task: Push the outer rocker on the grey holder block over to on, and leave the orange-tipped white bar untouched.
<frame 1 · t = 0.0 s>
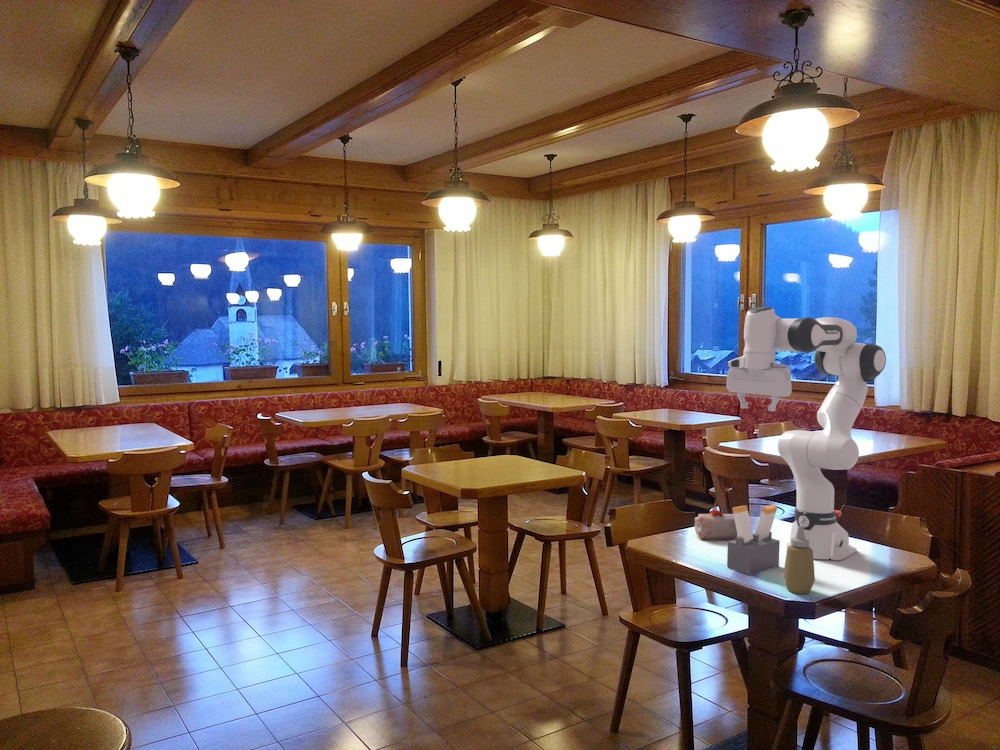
hand: (757, 409, 223), 48 cm above the table, tool pointing down, fingers open, 8 cm apart
food item: (715, 539, 261), on the table
squeeze bottle: (798, 591, 209), on the table
grey holder block: (753, 567, 230), on the table
outer rocker: (742, 523, 228), point 14 cm above the table, hinge at -16.0°
orange-tipped white bar: (765, 521, 230), point 14 cm above the table, hinge at 16.0°
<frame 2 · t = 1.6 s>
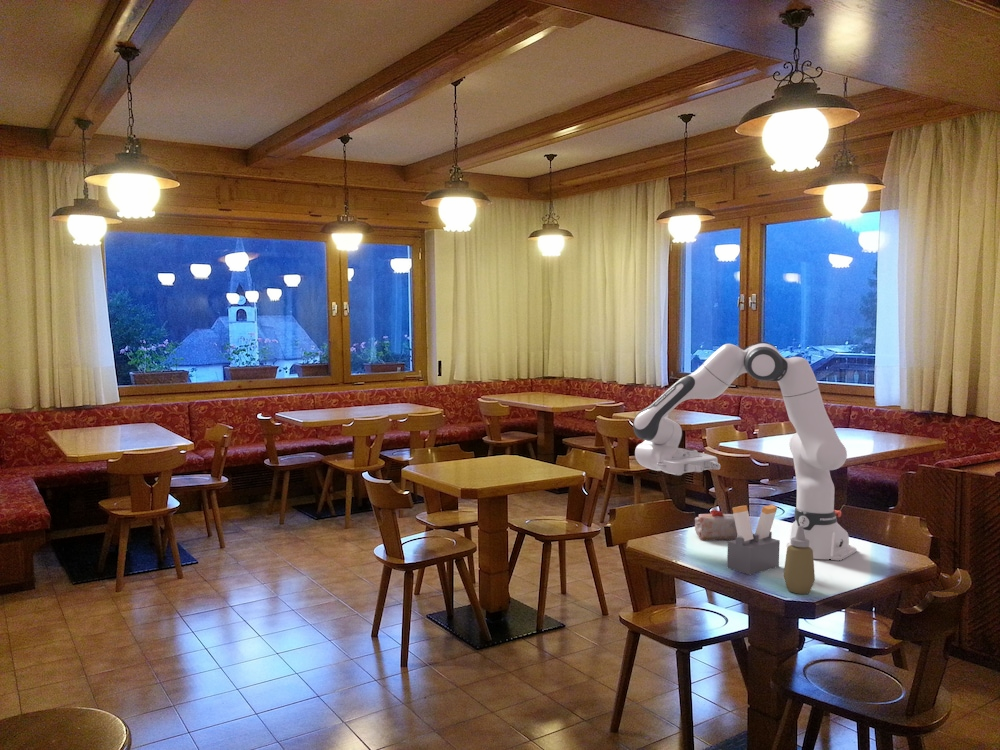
hand: (710, 468, 237), 28 cm above the table, tool horizontal, fingers open, 7 cm apart
nothing on the table moved.
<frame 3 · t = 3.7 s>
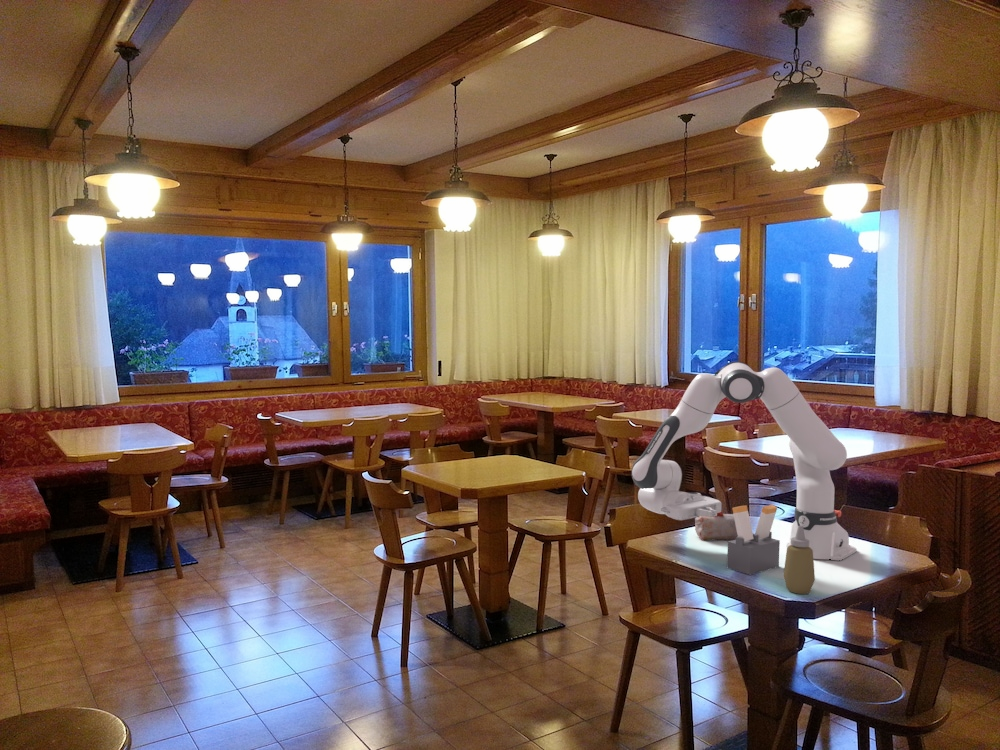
hand: (714, 514, 237), 14 cm above the table, tool horizontal, fingers closed
nothing on the table moved.
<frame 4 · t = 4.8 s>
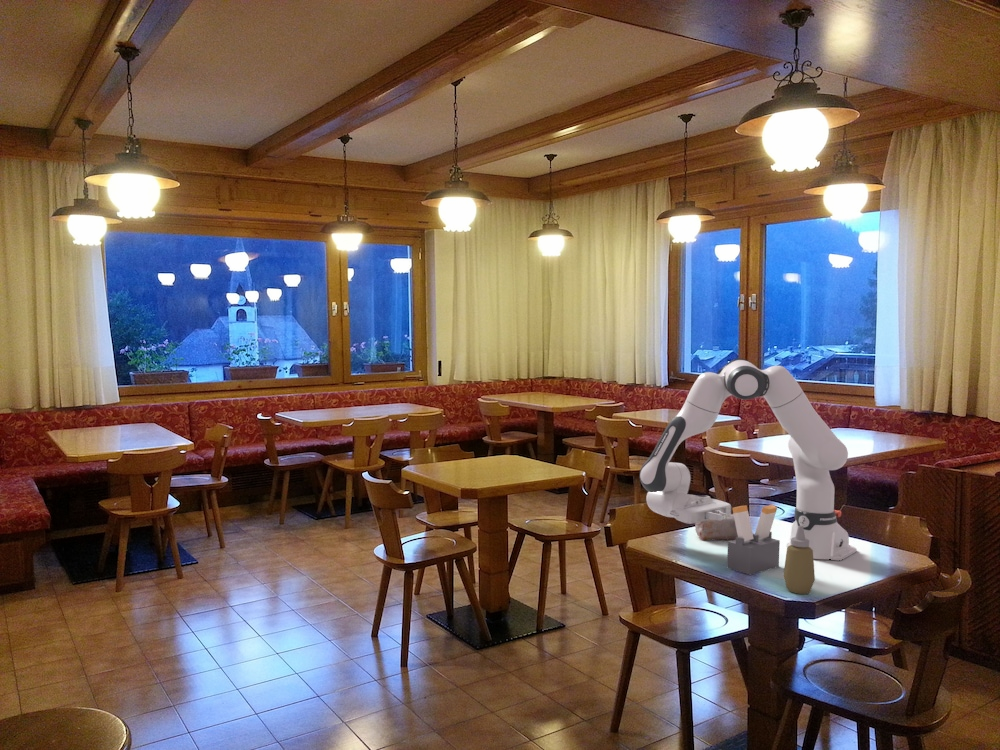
hand: (723, 517, 234), 14 cm above the table, tool horizontal, fingers closed
nothing on the table moved.
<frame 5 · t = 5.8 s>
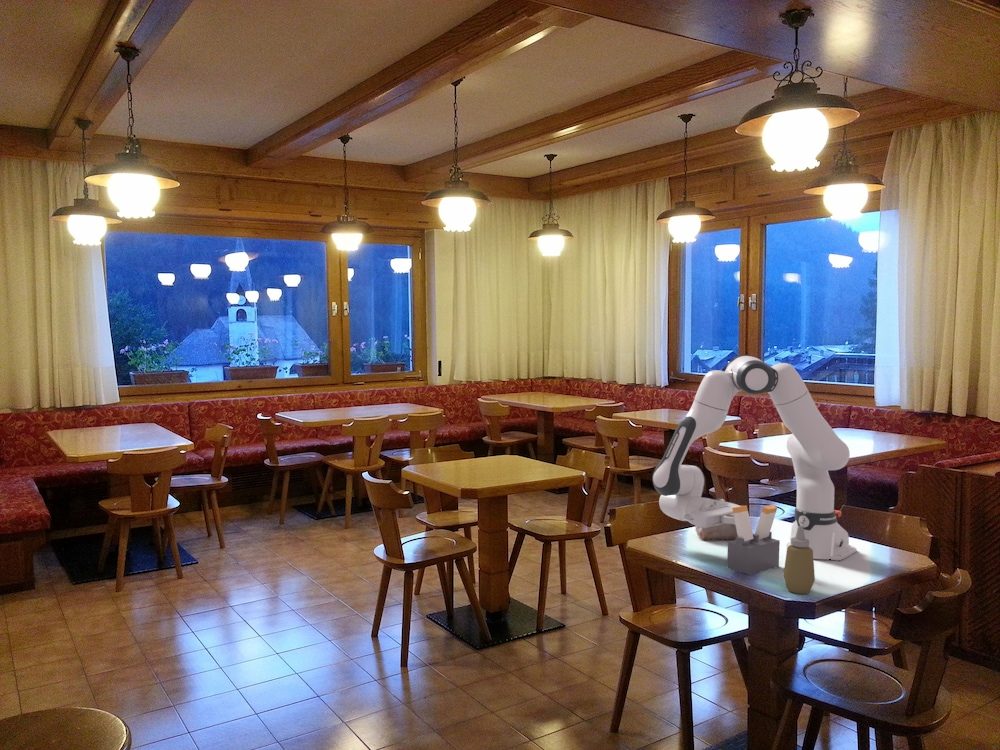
hand: (739, 521, 229), 14 cm above the table, tool horizontal, fingers closed, pressing on outer rocker
outer rocker: (742, 523, 228), point 14 cm above the table, hinge at -16.0°, touching gripper
everything else where it was.
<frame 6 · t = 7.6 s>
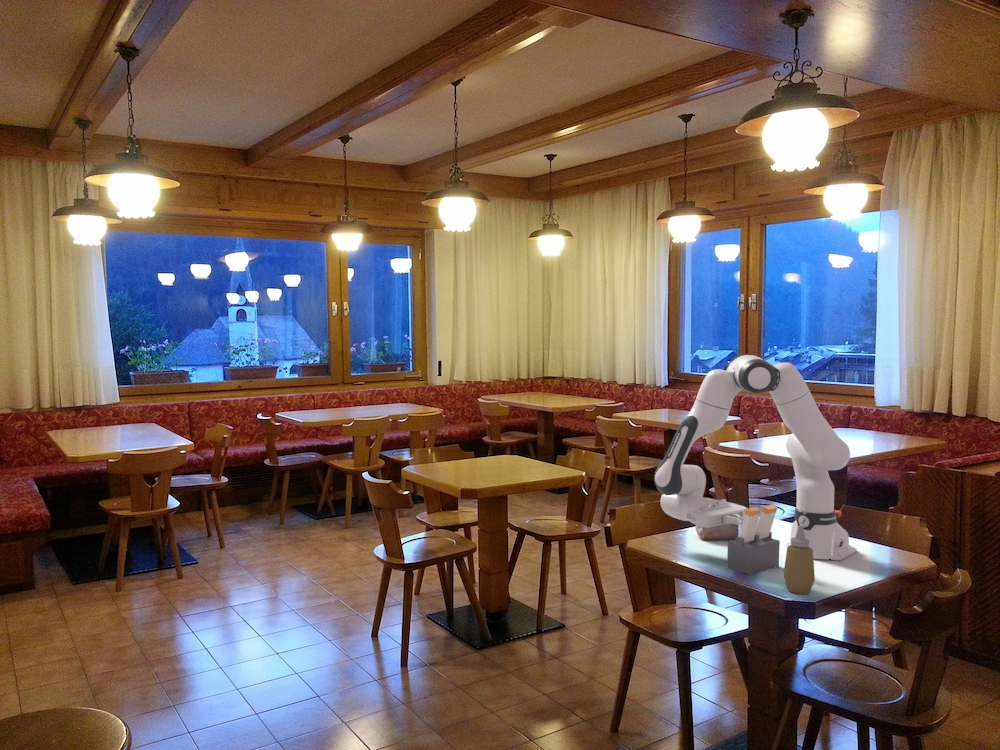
hand: (741, 521, 228), 14 cm above the table, tool horizontal, fingers closed
outer rocker: (749, 524, 226), point 14 cm above the table, hinge at 12.3°
everything else where it was.
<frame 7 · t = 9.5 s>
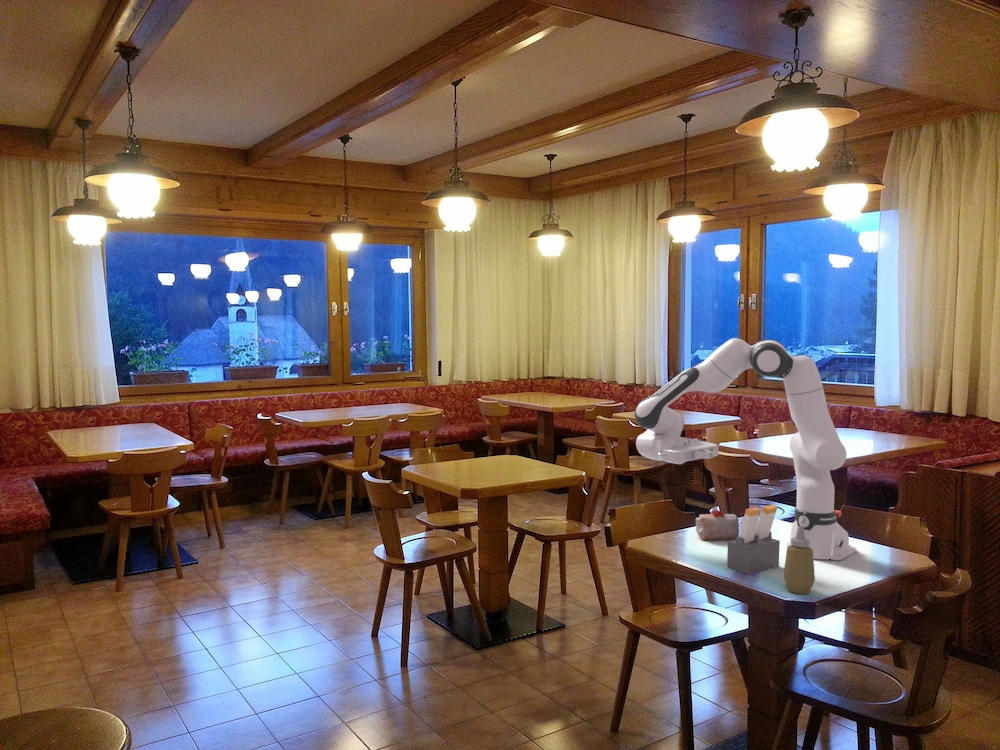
hand: (711, 455, 238), 32 cm above the table, tool horizontal, fingers closed
nothing on the table moved.
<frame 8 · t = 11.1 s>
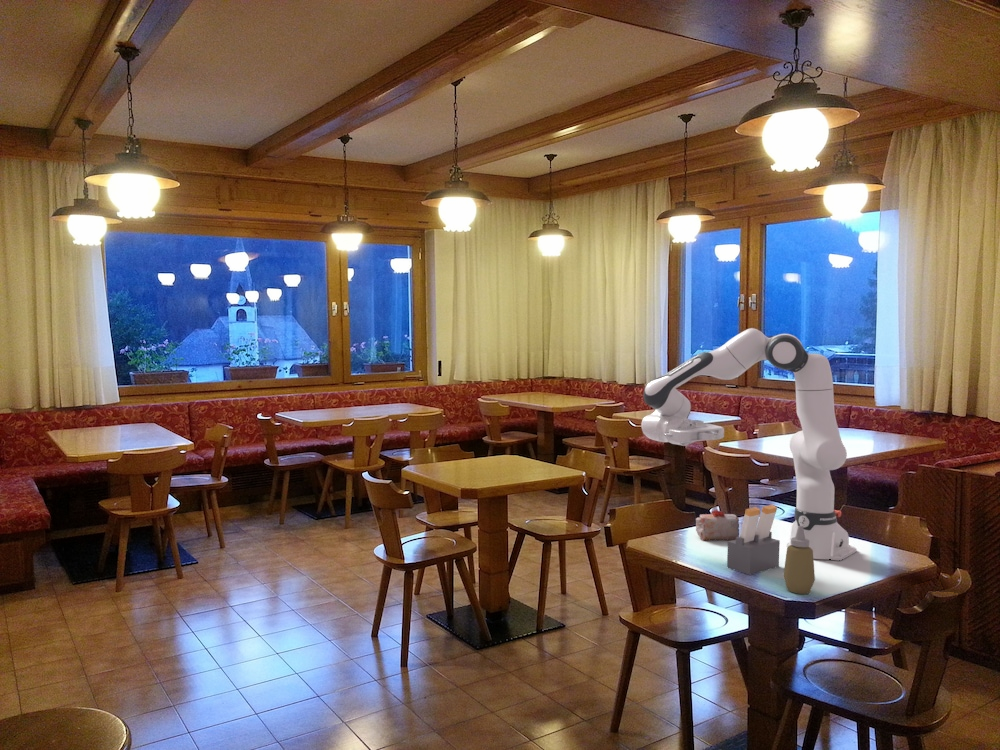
hand: (716, 437, 237), 38 cm above the table, tool horizontal, fingers closed
nothing on the table moved.
at the end: outer rocker at +12° (first picture: -16°); orange-tipped white bar at +16° (first picture: +16°) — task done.
